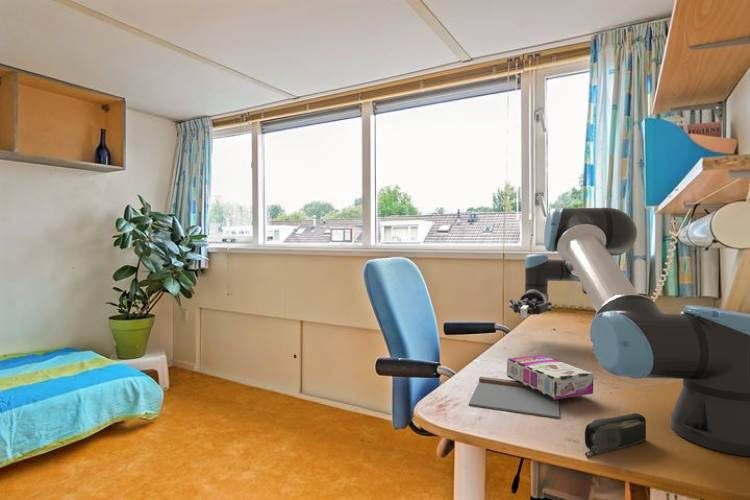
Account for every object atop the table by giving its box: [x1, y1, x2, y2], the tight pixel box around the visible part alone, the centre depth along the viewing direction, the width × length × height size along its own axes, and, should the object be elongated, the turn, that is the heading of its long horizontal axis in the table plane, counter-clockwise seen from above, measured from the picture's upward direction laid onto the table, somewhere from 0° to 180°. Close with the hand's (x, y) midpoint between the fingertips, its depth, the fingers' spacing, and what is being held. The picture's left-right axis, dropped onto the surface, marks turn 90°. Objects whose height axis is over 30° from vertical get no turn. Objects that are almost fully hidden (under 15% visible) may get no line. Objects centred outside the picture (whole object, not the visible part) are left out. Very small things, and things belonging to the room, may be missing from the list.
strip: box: [478, 376, 530, 388], centre depth 103 cm, size 2×18×1 cm, turn 68°
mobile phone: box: [584, 412, 647, 458], centre depth 73 cm, size 5×3×15 cm
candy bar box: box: [506, 354, 594, 400], centre depth 100 cm, size 11×5×16 cm
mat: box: [468, 381, 560, 420], centre depth 95 cm, size 15×18×1 cm
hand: (523, 313), depth 121 cm, fingers closed
